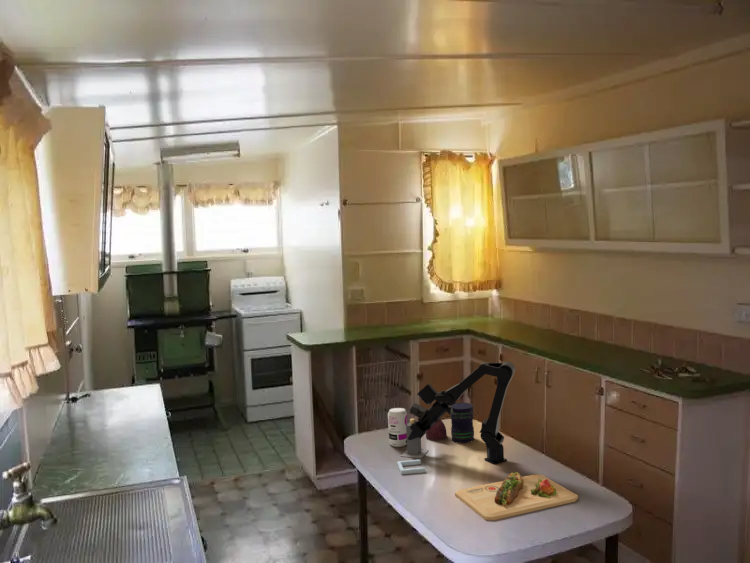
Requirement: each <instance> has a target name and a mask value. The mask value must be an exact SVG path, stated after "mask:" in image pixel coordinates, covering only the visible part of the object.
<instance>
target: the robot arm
mask: <svg viewBox="0 0 750 563" xmlns="http://www.w3.org/2000/svg"><path fill="white" fill-rule="evenodd" d="M515 372H516V365H515V364H513V362H511V361H505V362H486V361H484V362H482V363H481V364H480V365H479V366H478V367H476V369H474V370H473V371H472V372H471V373H470V374H469V375H468V376H467V377H465V378H464V379H463V380H462V381H460V382H459V383H457V384H455V385H453V386H451V387H449V388H448V389H447V390H440V391H437V390H436V389H435V388H434V387H433V386H432V384H431V383H428V384H426V385H425V386H424V387H423V388H421V389H420V391H418V393H417V394H416V395H417V396H418V398H420V400H421V401H422V402H423V403H424V404H426V405H431V404H432V405H431V406H430V407H428V408H425V407H424V406H422V405H420V404H418V403H413V404H412V405H411V407H410V408H409V414H410V415H413V416H415V417H417V421H415V422H414V423H413V424H412V425H411V426H410V429H411V430H412V432H411V434H410V435H409V437H408V440H412V439H415V438H418V437H419V438H421V439H422V438H423V437H424V436H426V431H428V430H429V429H430V428H431V427H432V426H433V425H434V424H435V423H436V422H437V421H438V420H439V419H440V418H441V419H442V417H443V415H445V414H446V413H447V414H448V415H450V414H451V413H452V412H453V409H452V407H453V406H451V405H453V404H454V403H457V401H458V400H459V399H460V398H461V397H462V395H463V394H465V392H466V391H467V390H468V389H469V388H470V387H472V386H473V385H474V384H475V383H476V382H477V381H479V380H480V379H481V378H482V377H483V376H484V375H486V376H487V375H489V376H492V377H495V378H496V385H497V386H496V388H495V391H494V392H495V393H494V397H493V399H492V404H491V408H490V411H489V414H488V418H484V420H483V421H482V422H481V428H480V431H478V432H479V433H480V439H481V441H483V442H484V444H485V447H486V457H485V458H484V459H483V460H484V461H487V462H489V463H491V464H493V465H497V464H501V463H504V462H507V461H508V459H507V458H505V456H504V455H505V452H504V451H505V450H504V449H505V448H504V445H503V442H504V441H505V436H504V435H503V434H502V433H501V432H500V415H501V412H502V410H503V406H504V403H505V402H504V401H505V399H506V394H507V391H508V388H509V385H510V383H511V381H512V379H513V377H514V375H515Z"/></svg>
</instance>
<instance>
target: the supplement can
mask: <svg viewBox="0 0 750 563" xmlns="http://www.w3.org/2000/svg"><path fill="white" fill-rule="evenodd" d="M407 424H408V412H407V409H406V408H404V407H392V408H390V409H389V410H388V412H387V425H388V427H387V428H388V441H389V442H388V443H389V445H391V447H394V448H400V447H402V448H403V447H405V446H407V434H406V425H407Z"/></svg>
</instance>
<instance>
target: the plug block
mask: <svg viewBox="0 0 750 563" xmlns="http://www.w3.org/2000/svg"><path fill="white" fill-rule="evenodd" d="M415 421H416V418H410V419H409V422H407V425H406V434H407V445H406V450H407V453H408V454H411V455H419V454H420V452H421V450H422V438H419V437H418V438H415V439H412V440H408V437H409V435H410V434H411V432H412V430H411V429H410V426H411V425H412V424H413V423H414V422H415Z"/></svg>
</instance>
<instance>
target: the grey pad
mask: <svg viewBox="0 0 750 563" xmlns="http://www.w3.org/2000/svg"><path fill="white" fill-rule="evenodd" d="M428 452H429V450H428V449H421V452H420V454H419V455H411V454H408V453H407V449H405V450H404V451H403V453H402V454H400V457H403V458H411V459H412V458H416V459H422V458H423V457H424V456H425V455H426V454H427V453H428Z"/></svg>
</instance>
